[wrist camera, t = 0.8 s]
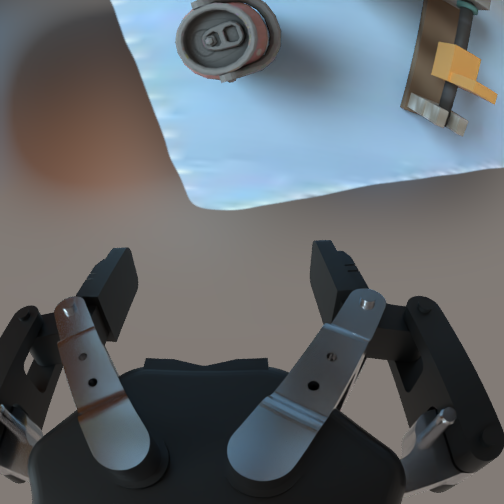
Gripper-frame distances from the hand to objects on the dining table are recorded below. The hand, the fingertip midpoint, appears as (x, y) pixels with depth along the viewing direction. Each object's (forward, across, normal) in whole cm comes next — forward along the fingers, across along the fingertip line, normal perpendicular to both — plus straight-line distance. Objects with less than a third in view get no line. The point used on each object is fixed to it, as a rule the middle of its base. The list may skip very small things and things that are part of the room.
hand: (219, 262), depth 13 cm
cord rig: (+22, -25, -16) cm, 37 cm away
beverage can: (+26, -1, -14) cm, 29 cm away
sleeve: (+19, -25, -13) cm, 34 cm away
